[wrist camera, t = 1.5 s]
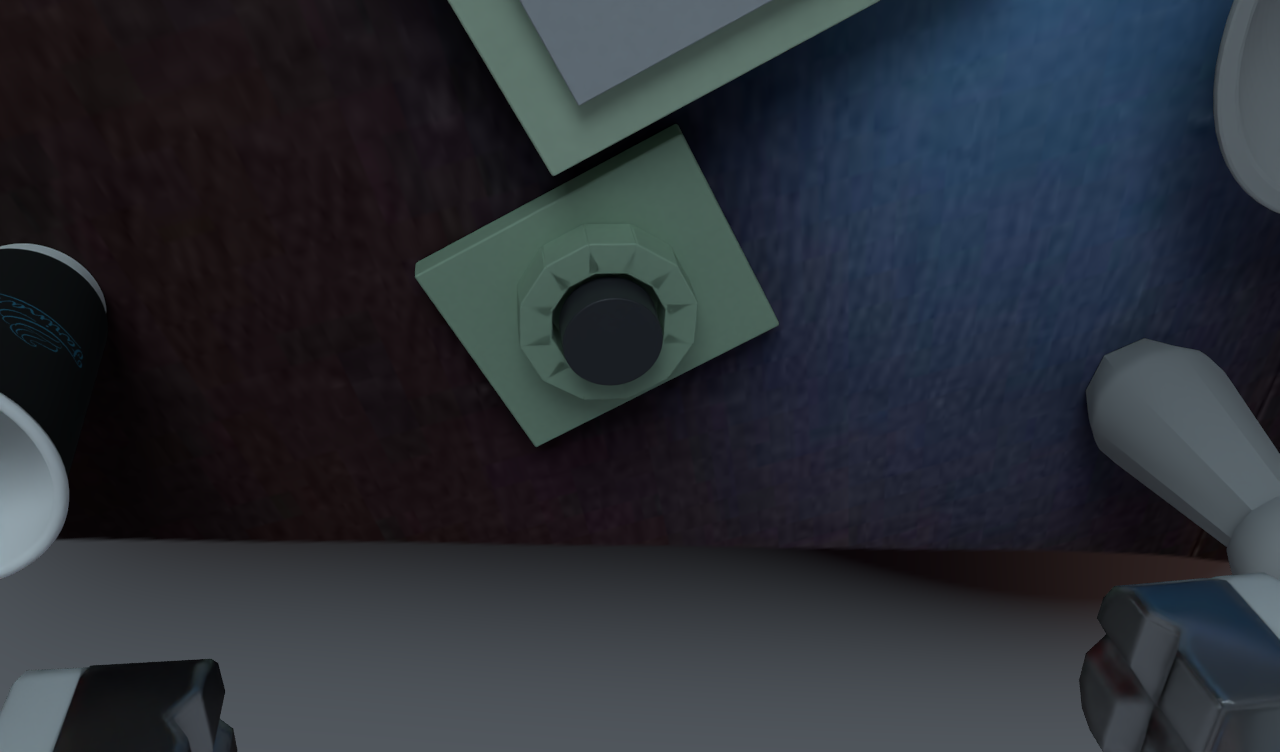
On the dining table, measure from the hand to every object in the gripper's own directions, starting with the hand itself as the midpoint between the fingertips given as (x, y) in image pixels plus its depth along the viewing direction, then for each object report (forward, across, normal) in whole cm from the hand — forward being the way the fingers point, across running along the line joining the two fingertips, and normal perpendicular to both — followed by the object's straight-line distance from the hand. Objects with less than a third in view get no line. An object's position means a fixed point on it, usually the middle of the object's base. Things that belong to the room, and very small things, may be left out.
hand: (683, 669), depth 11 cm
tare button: (+30, -3, +12) cm, 32 cm away
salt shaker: (+32, -27, +17) cm, 45 cm away
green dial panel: (+32, -3, +12) cm, 35 cm away
